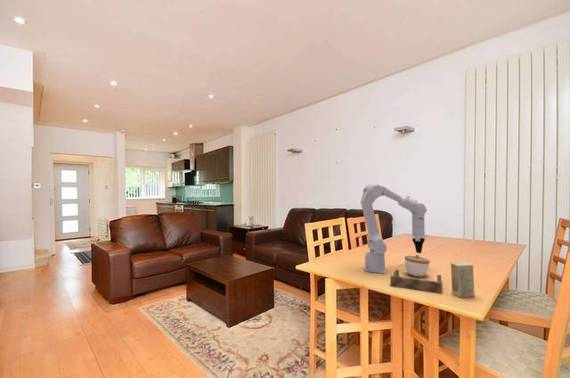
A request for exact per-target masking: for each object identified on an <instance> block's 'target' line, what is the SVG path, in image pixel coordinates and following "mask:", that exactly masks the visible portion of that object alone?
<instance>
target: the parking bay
mask: <svg viewBox="0 0 570 378" xmlns="http://www.w3.org/2000/svg"><path fill="white" fill-rule="evenodd" d="M436 279H437V280H436V281H435V280H428V279H421V278H420V279H419V278H412V277H405V276H400V270H399V269H395V270H394V272H393V274H392V275H390V287H396V288H403V289H410V290H416V291H423V292H428V293H429V292H430V293H436V294H443V283H442V282H443V281H442V275H441V274H436Z"/></svg>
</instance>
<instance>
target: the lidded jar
mask: <svg viewBox="0 0 570 378" xmlns="http://www.w3.org/2000/svg"><path fill="white" fill-rule="evenodd" d="M430 263H431V261H430V259H428V258H425V257H422V256H419V254H415V255H405V256H404V267H405V269H406V271H407V273H408V274H409V275H411V276H415V277H421V278H422V277H424V275H426V274H427V273H428V271H429V268H430Z"/></svg>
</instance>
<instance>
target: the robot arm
mask: <svg viewBox="0 0 570 378" xmlns="http://www.w3.org/2000/svg"><path fill="white" fill-rule="evenodd" d="M381 196H382V197H383V196H384V197H386V198H389V199H391V200H393V201H395V202H397V204H398V206H400V207H402V208H404V209H405V210H408V211H409V212H410V214H411V231H412V233H411V237H413V238H412V239H411V240H412V242H413V244H414V247H415V248H414V249H415V251H416V254H422V252H423V251H422V250H423V244H424V243H425V240H426V239H425V238H428V234H425V233H426V231H425V226H426V225H425V216H426V215H425V214H426V213H427V210H428V209H427V207H426V205H425V204H424V203H420V202H418V200H414V199H413V198H410V196H409V195H402V196H401V195H400V194H397V193H396V192H394V191H393V190H391V189H389V188H387V187H385V186H383V185H381V184H377V183H376V184H367V185H366V186H365V187H364V188H363V189H362V196H361V199H360V207H361V209H362V213H363V217H364V220H365V225H366V229H367V233H368V236H367V240H368V241H367V247H368V249H369V251H367V252H365V254H364V271H365V272H367V273H368V272H370V273H376V274H377V273H378V274H385V273H386V271H387V270H388V269H387V267H386V259H385V253H386V252H387V249H388V247H387V244H386V243H385V242H384V239H383V237H382V236H381V234H380V231H379V226H378V223H377V219H376V215H375V211H374V207H373V203H374V202H375V201H376V200H377V199H378V198H379V197H381Z"/></svg>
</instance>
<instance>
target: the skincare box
mask: <svg viewBox="0 0 570 378" xmlns="http://www.w3.org/2000/svg"><path fill="white" fill-rule="evenodd" d="M450 273H451V274H450V275H451V293H452V294H454V295H455V296H456V297H459V298H469V297H471V298H472V297H475V282H474V281H475V279H474V264H472V263H469V262H466V261H460V262H459V261H458V262H450Z"/></svg>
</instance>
